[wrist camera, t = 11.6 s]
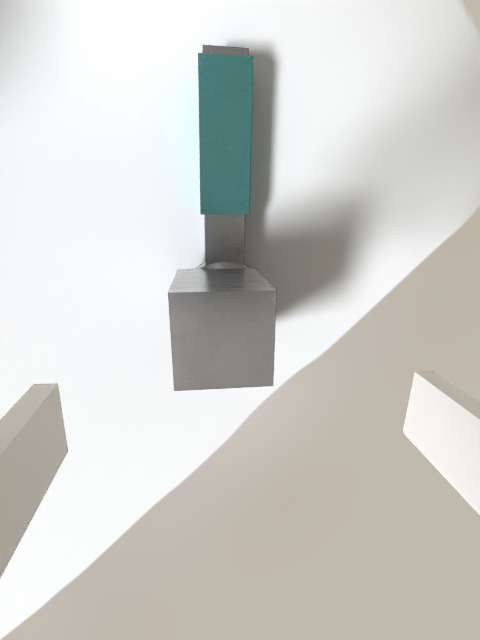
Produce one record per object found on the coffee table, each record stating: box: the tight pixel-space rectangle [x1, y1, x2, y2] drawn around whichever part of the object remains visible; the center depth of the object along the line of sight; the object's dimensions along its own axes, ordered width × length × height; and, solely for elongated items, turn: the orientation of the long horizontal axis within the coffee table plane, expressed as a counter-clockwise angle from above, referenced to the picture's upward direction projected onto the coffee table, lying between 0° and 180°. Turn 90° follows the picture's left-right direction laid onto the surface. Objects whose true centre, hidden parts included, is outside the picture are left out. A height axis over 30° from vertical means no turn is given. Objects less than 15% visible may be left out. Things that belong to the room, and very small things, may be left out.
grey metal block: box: [168, 268, 277, 391], centre depth 23 cm, size 6×6×8 cm
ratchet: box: [195, 45, 253, 269], centre depth 25 cm, size 21×7×6 cm, turn 179°
